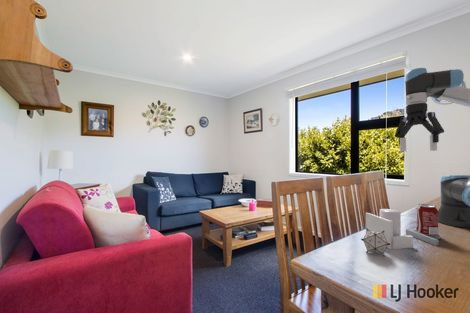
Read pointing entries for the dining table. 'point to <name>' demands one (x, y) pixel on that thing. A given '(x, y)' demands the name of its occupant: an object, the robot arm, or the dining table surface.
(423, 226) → the soda can
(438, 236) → the coaster
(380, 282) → the dining table surface
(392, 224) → the dispenser rack
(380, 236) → the game die
